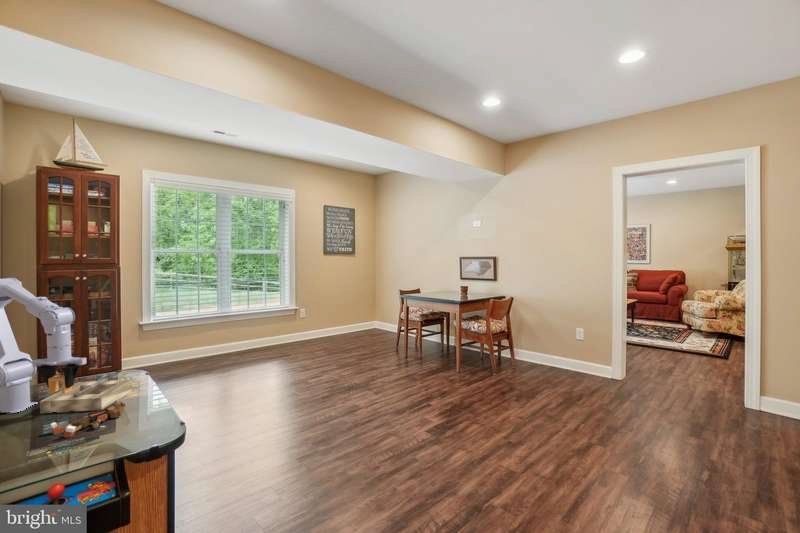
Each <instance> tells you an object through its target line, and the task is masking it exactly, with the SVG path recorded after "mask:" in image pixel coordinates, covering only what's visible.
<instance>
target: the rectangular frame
mask: <svg viewBox="0 0 800 533" xmlns="http://www.w3.org/2000/svg"><path fill="white" fill-rule="evenodd" d="M132 391H133V379H121V380H120V379H118V380H116V379H115V380H105V379H100V380H98V381H79V382H76V383H73V386H72V390H71V391H69V392H66V393H62V390H59V391H57V392H55V393H53V394H51V395H50V396H47V397H46V398H44V399H42V400H40V401H39V410H40V411H39V412H40V414H50V413H51V414H53V413H52V412H57V413H71V412H70V411H74V412H87V411H88V412H89V411H100V410H103V409H107V408H108V407H109V406H110V405H112V404H114V402H115V403H116V402H117V401H118V400H119V399H121V398H122V397H124V396H125V395H127V394H129V393H130V392H132Z"/></svg>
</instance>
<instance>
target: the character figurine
mask: <svg viewBox="0 0 800 533" xmlns="http://www.w3.org/2000/svg"><path fill="white" fill-rule="evenodd" d="M126 406H127V405H126V404H125V403H124V402H123V401H115V403H114V402H113V403H112V404H111V406H110V407H106V408H104V409H102V410H96V411H94V412H89V413H87V416H85V417H82V418H80V419H77V420H74V421H72V422H71V423H68V424H66V425H64V426H61V425H60V426H58V423H57V422H55V421H54V422H51V423H50V427H51V433H52V434H53V435H54V436H55V435H58V434H61V432H62V433H64V434H63V438H64V439H65V438H66V439H70V438H72V437H73V436H75V433H76V432H77V431H79V430H81V429H85V428H86V427H88V426H91V427H92V428H93V429H95V428H98V427H99V426H100V425H101V424H100V423H101V422H104V423H105V422H107V421H108V420H109V419H115V418H119V417H121V416H122V415H123V414H124V413H125V410H124V408H125V407H126ZM71 436H72V437H71ZM69 437H70V438H69Z"/></svg>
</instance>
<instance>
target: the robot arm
mask: <svg viewBox="0 0 800 533" xmlns="http://www.w3.org/2000/svg"><path fill="white" fill-rule="evenodd" d="M22 284H23V282H22V281H20V280H18V279H17V278H15V277H7V278H0V411H1V412H10V413H9V414H18V413H17V412H19V413H21V412H23V411H25V410H27V409H29V408H31V407H33V406H35V405H34V404H36V405H37V404H38V403H39V402H38V401H31V386H30V384H31V383H30V381H31V380H33V377H34V376H35V375H36V373H37V372H38V373H39V374H40V375H41V377H42V378H43V380H44V382H45V384H46V386H47V389H48V390H49V383H48V379H49V378H51V377H53V376H57V370H58V367H59V366H62V368H61V371H62V372H63V375H64V376H65V385H66V388H69V387H71V386H73V385H74V384H75V383H74V382H75V379H76V376H77V373H78V371H79V370H80V368H81V367H82V366H83V365H86V364H87V357H77V356H72V338H71V337H72V336H71V335H72V334H71V330H72V329H71V324H73V323H74V322H75V320H76V314H75V312H74V310H73V309H72V308H71V307H66V306H65V307H63V306H59V305H58V304H57V303H54V302H52V301H50V299H48V297H46V296H35V295H34V294H33V293H31V292H30V291H29V290H27V289H26V288H25V287H23V285H22ZM13 300H14V301H16V302H18V303H20V304H22V305H25V310H26V311H27V312H28V313H29V314H32V315H33V316H34V317H37V318H38V319H39V320H40V323H41V325H42V327H43V330H44V333H45V334H46V347H47V348H46V349H47V350H46V354H47V358H41V359H40V358H38V359H33V360H32V358H31V355H30V354H28V353H26V352H22V351H20V349H19V346H18V344H17V341H16V338H15V335H14V333H13V330H12V328H11V324H10V322H9V319H8V315H7V314H6V311H5V307H6V306H7V305H9V304H10V303H11V302H12V301H13ZM37 367H39V368H38V369H37ZM32 405H33V406H32ZM30 406H31V407H30ZM28 407H29V408H28ZM26 408H27V409H26ZM20 411H21V412H20Z"/></svg>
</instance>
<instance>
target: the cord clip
mask: <svg viewBox="0 0 800 533" xmlns="http://www.w3.org/2000/svg"><path fill="white" fill-rule="evenodd" d="M59 382H61V388H62V389H61V391H62V393H66V392H69V391H71V390H72V386H71V387H69V388H66V385H65V376H64V374H63V375H60V374H59V375H57V374H56V376H53V377H51V378H49V379H48V383H49V389H48V394H49V395H53V394H55V393H57V392H60V390H59V389H60V388H59V387H60V385H59Z"/></svg>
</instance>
